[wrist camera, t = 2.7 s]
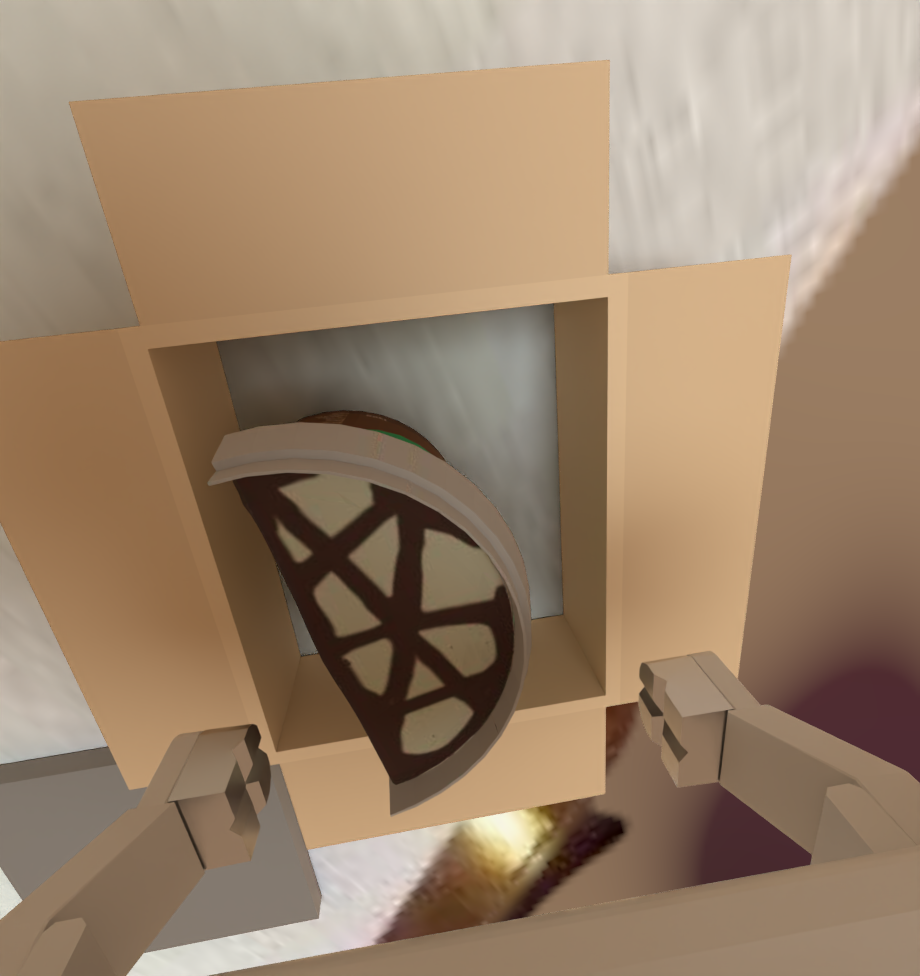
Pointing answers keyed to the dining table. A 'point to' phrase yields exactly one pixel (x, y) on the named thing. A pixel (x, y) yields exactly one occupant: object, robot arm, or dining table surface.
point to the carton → (366, 300)
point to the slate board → (105, 797)
